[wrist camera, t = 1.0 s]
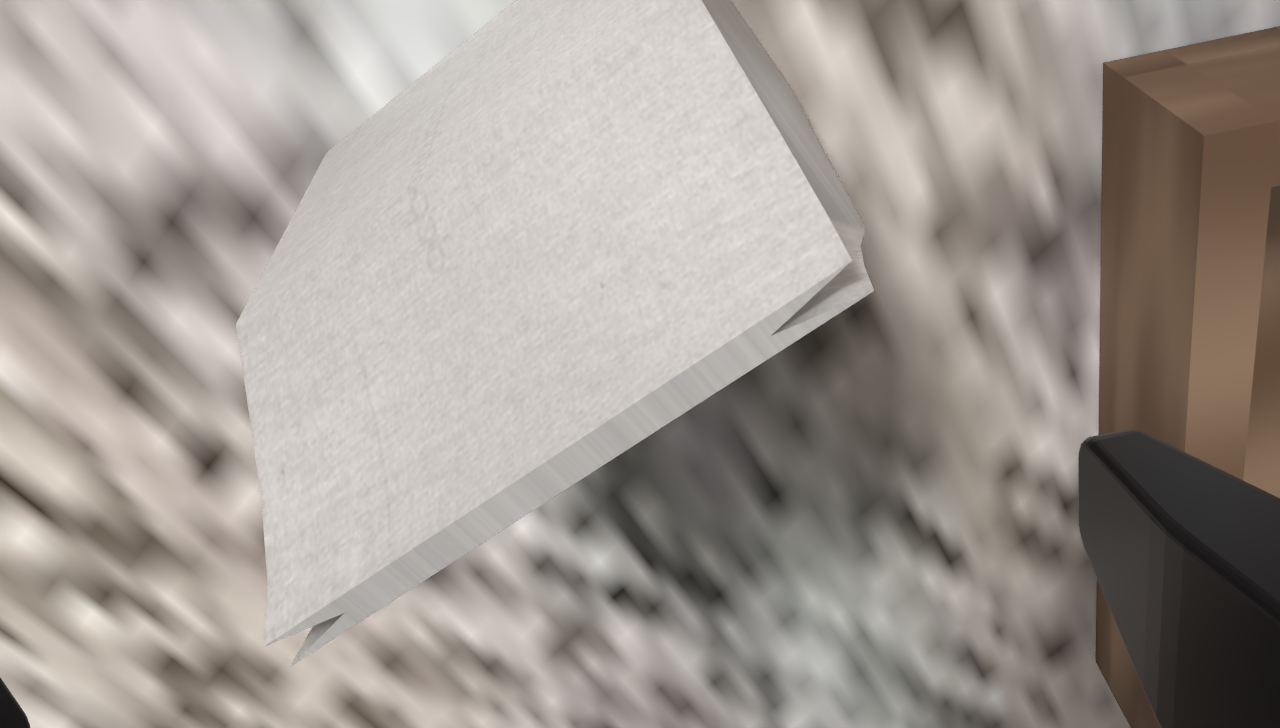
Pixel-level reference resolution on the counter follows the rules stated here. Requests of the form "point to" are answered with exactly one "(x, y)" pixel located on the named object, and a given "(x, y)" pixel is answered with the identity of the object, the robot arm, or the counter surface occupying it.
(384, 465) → the tea bag
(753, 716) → the counter surface
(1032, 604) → the counter surface
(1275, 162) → the walnut tray
